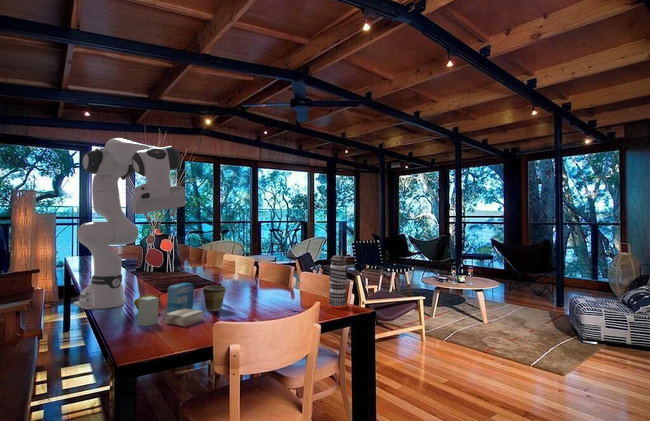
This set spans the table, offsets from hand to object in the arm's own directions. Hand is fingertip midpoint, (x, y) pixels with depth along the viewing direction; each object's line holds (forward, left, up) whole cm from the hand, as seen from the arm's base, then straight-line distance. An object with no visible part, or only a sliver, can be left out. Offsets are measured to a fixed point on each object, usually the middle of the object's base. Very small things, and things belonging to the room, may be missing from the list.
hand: (160, 218), depth 154 cm
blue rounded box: (0, +13, -42) cm, 44 cm away
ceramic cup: (+9, +24, -42) cm, 49 cm away
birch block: (+13, +2, -42) cm, 44 cm away
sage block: (+3, -7, -42) cm, 42 cm away
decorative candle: (+59, +56, -42) cm, 92 cm away
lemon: (-10, +4, -42) cm, 43 cm away
